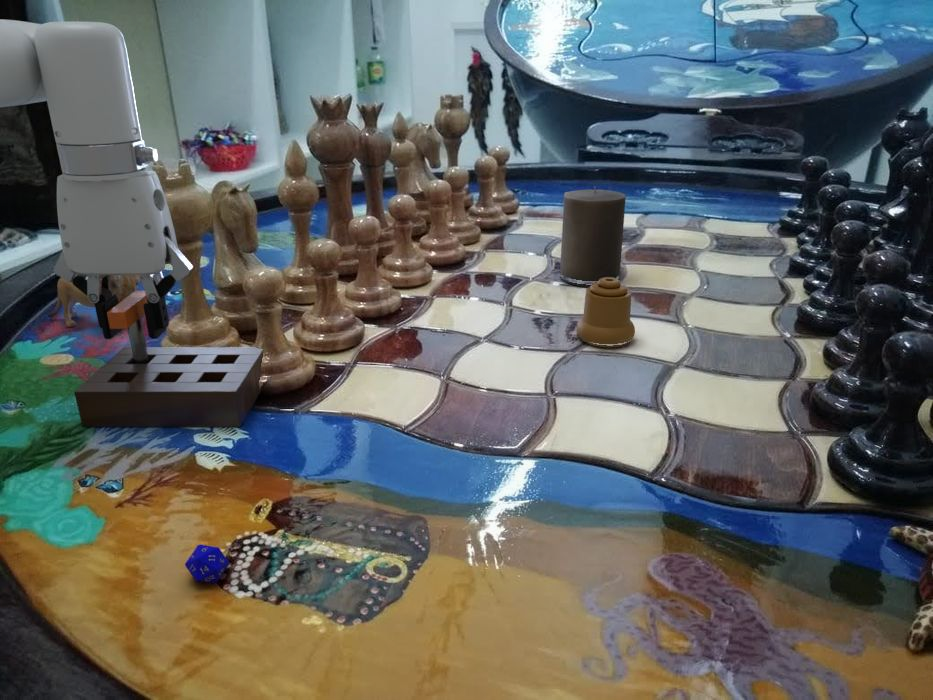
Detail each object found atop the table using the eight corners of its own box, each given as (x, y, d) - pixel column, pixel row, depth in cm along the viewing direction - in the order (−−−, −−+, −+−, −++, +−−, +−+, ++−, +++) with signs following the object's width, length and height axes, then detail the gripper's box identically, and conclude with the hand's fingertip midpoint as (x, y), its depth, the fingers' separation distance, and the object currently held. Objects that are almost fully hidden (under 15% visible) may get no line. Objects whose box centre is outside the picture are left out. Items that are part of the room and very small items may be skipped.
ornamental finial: (633, 330, 98) (634, 351, 92) (578, 326, 100) (574, 347, 93) (639, 273, 95) (640, 290, 89) (581, 269, 97) (577, 287, 90)
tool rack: (240, 427, 74) (235, 391, 72) (82, 427, 74) (73, 391, 72) (268, 378, 84) (264, 346, 83) (129, 379, 84) (123, 347, 83)
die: (237, 577, 54) (219, 567, 51) (204, 594, 53) (184, 584, 51) (227, 544, 55) (210, 532, 53) (195, 560, 55) (176, 549, 52)
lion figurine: (154, 321, 102) (143, 258, 98) (131, 335, 97) (118, 269, 93) (60, 314, 104) (46, 252, 101) (33, 327, 99) (17, 263, 96)
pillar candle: (614, 290, 114) (622, 194, 108) (553, 284, 117) (557, 189, 111) (623, 273, 123) (631, 182, 117) (565, 267, 125) (570, 179, 120)
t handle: (125, 406, 78) (106, 312, 74) (151, 378, 84) (135, 290, 80) (142, 406, 78) (124, 312, 74) (167, 378, 84) (151, 290, 80)
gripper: (202, 154, 75) (225, 321, 82) (38, 154, 75) (75, 322, 82) (175, 166, 68) (203, 347, 75) (-6, 166, 68) (39, 348, 75)
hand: (136, 332), depth 78 cm, fingers open, 4 cm apart
